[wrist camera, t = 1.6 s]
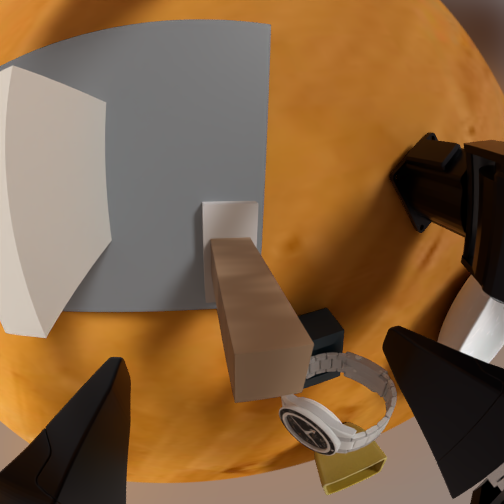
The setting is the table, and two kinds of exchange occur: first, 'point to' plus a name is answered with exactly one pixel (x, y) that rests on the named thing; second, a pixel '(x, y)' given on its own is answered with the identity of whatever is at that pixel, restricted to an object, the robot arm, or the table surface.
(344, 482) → the flower pot
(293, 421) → the watch
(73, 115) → the tile
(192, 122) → the board
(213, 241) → the white-capped wooden bar
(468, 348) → the serving bowl
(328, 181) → the table surface
